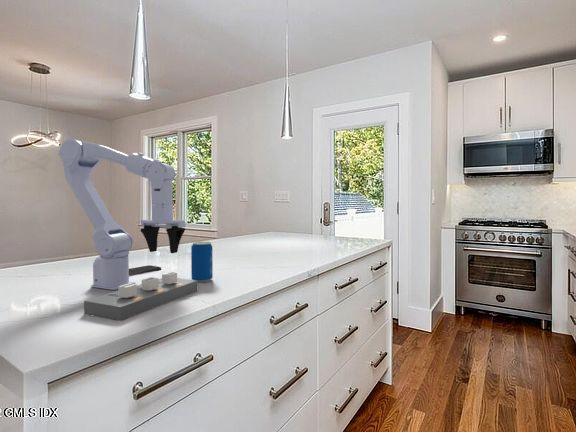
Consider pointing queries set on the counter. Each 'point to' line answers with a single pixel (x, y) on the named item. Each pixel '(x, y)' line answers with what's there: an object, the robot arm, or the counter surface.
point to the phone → (143, 270)
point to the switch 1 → (127, 290)
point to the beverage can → (201, 261)
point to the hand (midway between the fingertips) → (163, 252)
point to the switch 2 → (149, 283)
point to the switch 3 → (169, 278)
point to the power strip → (138, 300)
